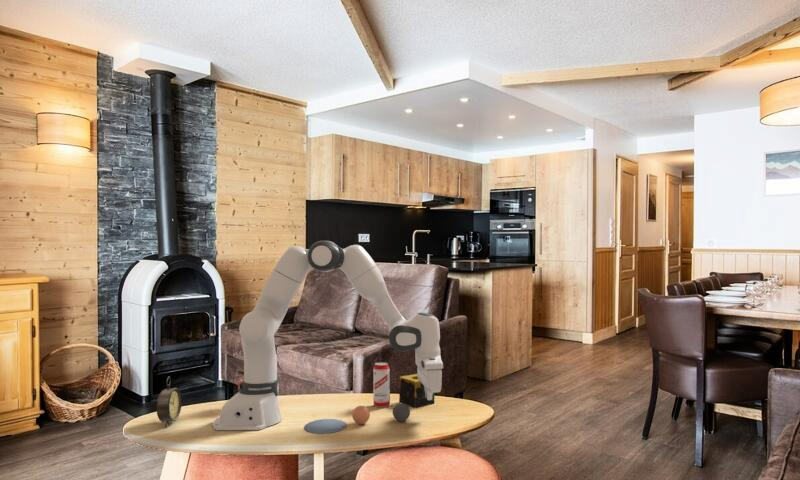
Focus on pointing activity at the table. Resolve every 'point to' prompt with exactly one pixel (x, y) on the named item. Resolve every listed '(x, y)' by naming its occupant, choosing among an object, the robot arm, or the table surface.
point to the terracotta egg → (361, 414)
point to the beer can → (381, 385)
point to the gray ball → (401, 412)
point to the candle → (413, 392)
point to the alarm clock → (169, 404)
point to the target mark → (325, 426)
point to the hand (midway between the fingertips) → (428, 399)
